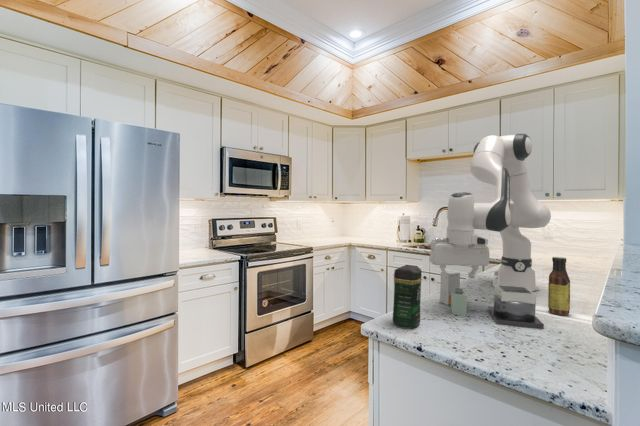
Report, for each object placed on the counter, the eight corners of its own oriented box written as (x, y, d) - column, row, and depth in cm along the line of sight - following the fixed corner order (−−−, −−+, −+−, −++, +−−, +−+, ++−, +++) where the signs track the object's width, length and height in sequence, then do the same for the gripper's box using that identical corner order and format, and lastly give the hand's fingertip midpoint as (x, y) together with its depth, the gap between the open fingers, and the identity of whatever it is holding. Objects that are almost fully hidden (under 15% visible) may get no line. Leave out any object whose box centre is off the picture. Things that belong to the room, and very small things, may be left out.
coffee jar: (415, 331, 97) (416, 269, 97) (389, 325, 101) (390, 266, 101) (423, 321, 106) (424, 264, 105) (399, 316, 110) (400, 262, 109)
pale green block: (450, 309, 118) (451, 286, 118) (464, 310, 117) (464, 287, 117) (452, 314, 113) (452, 290, 113) (466, 315, 112) (467, 291, 111)
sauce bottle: (573, 317, 112) (575, 259, 111) (553, 315, 113) (555, 258, 112) (563, 310, 118) (565, 256, 117) (544, 309, 119) (545, 255, 119)
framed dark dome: (487, 310, 117) (488, 282, 117) (529, 314, 114) (529, 286, 113) (496, 324, 104) (497, 293, 104) (543, 329, 100) (544, 296, 100)
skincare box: (447, 305, 123) (448, 273, 122) (439, 302, 127) (440, 271, 126) (459, 303, 125) (460, 272, 125) (451, 300, 129) (451, 270, 129)
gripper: (434, 239, 110) (433, 279, 111) (492, 240, 111) (491, 280, 112) (427, 237, 117) (426, 275, 117) (482, 238, 118) (481, 276, 118)
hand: (458, 277), depth 114 cm, fingers open, 8 cm apart
